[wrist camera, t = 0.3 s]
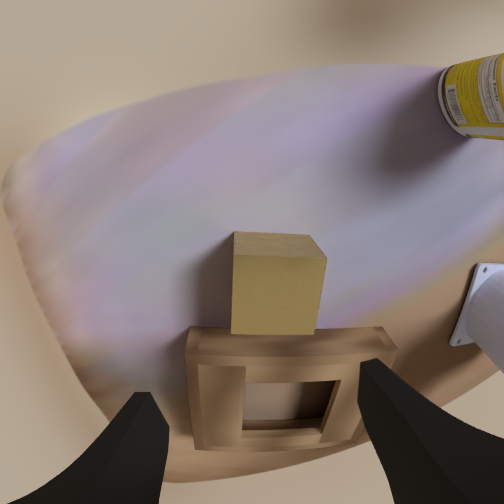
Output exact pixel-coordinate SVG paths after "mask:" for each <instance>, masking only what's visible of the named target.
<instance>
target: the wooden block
mask: <svg viewBox="0 0 504 504" xmlns="http://www.w3.org/2000/svg"><path fill="white" fill-rule="evenodd" d="M326 262H327V257H326V256H325V254H324V253H323V252H322V251H321V249H320V248H319V247H318V245H317V244H316V243H315V242H314V240H313V239H312V238H311V236H310V235H301V234H282V233H261V232H239V231H234V251H233V275H232V305H231V334H247V335H314V331H315V325H316V320H317V315H318V310H319V304H320V299H321V293H322V287H323V281H324V275H325V269H326Z"/></svg>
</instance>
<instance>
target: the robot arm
mask: <svg viewBox="0 0 504 504" xmlns="http://www.w3.org/2000/svg"><path fill="white" fill-rule="evenodd" d="M474 342H475V343H476V344H477V345H478V346H479V347H480V349H481V350H482V351H483V352H484V353H485V354H486V355H487V356H488V357H489V358H490V359H491V360H492V361H493V362H494V363H495V365H496V366H497V367H498V368H499V369H500V370H501V371H502V372H503V373H504V264H498V263H479V264H478V265H477V266H476V268H475V272H474V275H473V278H472V282H471V285H470V288H469V291H468V294H467V297H466V300H465V303H464V306H463V309H462V311H461V314H460V317H459V319H458V322H457V325H456V327H455V330H454V332H453V335H452V337H451V339H450V345H451V346H459V345H464V344H469V343H474ZM357 403H358V406H359V409H360V413H361V416H362V419H363V423H364V426H365V428H366V430H367V432H368V435H369V437H370V439H371V441H372V444H373V446H374V448H375V450H376V453H377V455H378V457H379V459H380V462H381V464H382V466H383V469H384V471H385V473H386V476H387V479H388V481H389V485H390V488H391V492H392V496H393V499H394V503H395V504H504V439H503V438H500V437H497V436H495V435H492V434H490V433H487V432H485V431H482V430H480V429H477V428H475V427H473V426H471V425H468V424H467V423H464V422H463V421H461V420H459V419H457V418H456V417H454V416H452V415H450V414H449V413H447V412H446V411H444V410H442V409H441V408H440V407H438V406H437V405H435V404H434V403H432V402H431V401H429V400H428V399H427V398H425V397H424V396H423V395H421V394H420V393H419V392H417V391H416V390H415V389H414V388H412V387H411V386H410V385H408V384H407V383H406V382H405V381H404V380H402V379H401V378H400V377H399V376H398V375H397V374H395V373H394V372H393V371H392V370H391V369H390V368H388V367H387V366H386V365H385V364H384V363H383V362H382V361H380V360H379V359H378V358H374V359H371V360H367V361H363V362H360V373H359V385H358V396H357ZM168 445H169V425H168V423H167V422H166V420H165V418H164V416H163V415H162V413H161V411H160V409H159V408H158V406H157V404H156V402H155V400H154V398H153V396H152V395H151V393H150V392H135V393H134V394H133V395H132V396H131V398H130V399H129V400H128V401H127V402H126V404H125V405H124V406H123V407H122V409H121V410H120V411H119V412H118V414H117V415H116V416H115V417H114V419H113V420H112V421H111V422H110V423H109V425H108V426H107V427H106V428H105V430H104V431H103V432H102V433H101V434H100V436H99V437H98V438H97V439H96V440H95V441H94V442H93V443H92V444H91V445H90V446H89V447H88V448H87V449H86V451H85V452H84V453H83V454H82V455H81V456H80V457H79V458H78V459H77V460H75V461H74V462H73V463H72V464H71V465H70V466H69V467H67V468H66V469H65V470H64V471H63V472H61V473H60V474H59V475H57V476H56V477H55V478H53V479H52V480H50V481H49V482H48V483H46V484H45V485H43V486H42V487H40V488H38V489H37V490H35V491H34V492H32V493H30V494H28V495H26V496H24V497H22V498H20V499H17V500H15V501H13V502H10V503H8V504H159V497H160V491H161V486H162V481H163V476H164V470H165V465H166V460H167V454H168Z"/></svg>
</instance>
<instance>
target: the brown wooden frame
mask: <svg viewBox="0 0 504 504" xmlns="http://www.w3.org/2000/svg"><path fill="white" fill-rule="evenodd" d="M397 353H398V348H397V347H396V346H395V344H394V343H393V341H392V340H391V338H390V337H389V336H388V334H387V333H386V331H385V330H384V329H383V327H368V328H345V329H315V331H314V335H247V334H231V328H211V327H193V326H190V329H189V334H188V338H187V343H186V347H185V352H184V358H185V370H186V380H187V390H188V399H189V408H190V416H191V424H192V431H193V439H194V446H195V450H206V451H228V452H267V451H289V450H303V449H314V448H323V447H331V446H339V445H346V444H352V443H356V442H357V440H358V438H359V436H360V435H361V433H362V431H363V429H364V427H365V426H364V423H363V419H362V416H361V413H360V409H359V406H358V403H357V396H358V385H359V373H360V362H363V361H367V360H371V359H374V358H378V359H379V360H380V361H382V362H383V363H384V364H385V365H386V366H387V367H388V368H390V369H391V368H392V366H393V363H394V361H395V358H396V356H397ZM330 380H336V382H335V385H334V388H333V391H332V394H331V397H330V400H329V403H328V406H327V409H326V412H325V415H324V417H323V418H311V419H296V420H271V421H242V420H243V405H244V391H245V383H289V382H314V381H330Z"/></svg>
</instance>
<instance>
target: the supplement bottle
mask: <svg viewBox="0 0 504 504" xmlns="http://www.w3.org/2000/svg"><path fill="white" fill-rule="evenodd" d="M438 98H439V103H440V106H441V110H442V112H443V114H444V116H445V118H446V120H447V121H448V123H449V124H450V125H451V126H452V128H453V129H454V130H456V131H457V132H458V133H460V134H461V135H463V136H466V137H472V138H484V139H496V140H504V53H502V54H498V55H493V56H488V57H484V58H479V59H475V60H471V61H467V62H463V63H459V64H456V65H453V66H450V67H448V68H447V69H445V70H444V72H443V73H442V75H441V77H440V79H439V83H438Z"/></svg>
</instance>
